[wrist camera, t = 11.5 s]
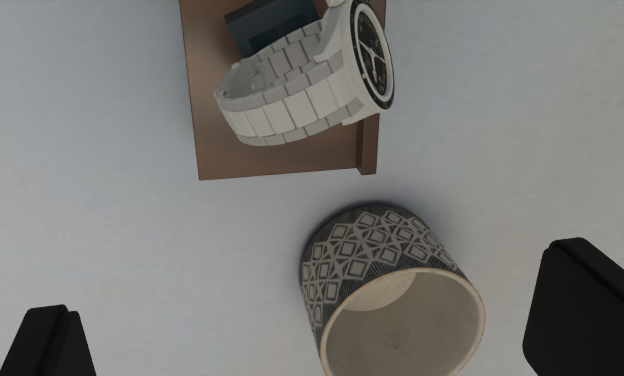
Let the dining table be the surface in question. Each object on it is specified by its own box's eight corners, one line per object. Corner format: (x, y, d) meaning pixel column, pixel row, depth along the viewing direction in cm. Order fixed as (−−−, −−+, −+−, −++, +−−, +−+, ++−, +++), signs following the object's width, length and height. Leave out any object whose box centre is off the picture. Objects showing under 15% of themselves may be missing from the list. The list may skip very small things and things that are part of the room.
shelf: (174, -109, 32) (164, -124, 23) (347, -107, 33) (393, -120, 25) (199, 136, 39) (199, 189, 30) (341, 126, 40) (376, 174, 32)
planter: (273, 296, 46) (290, 385, 37) (336, 178, 42) (373, 246, 33) (388, 328, 51) (429, 415, 42) (456, 224, 47) (517, 295, 38)
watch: (363, 57, 30) (440, 114, 20) (241, 117, 30) (259, 202, 21) (327, -38, 27) (396, -24, 18) (193, 28, 28) (189, 78, 18)
